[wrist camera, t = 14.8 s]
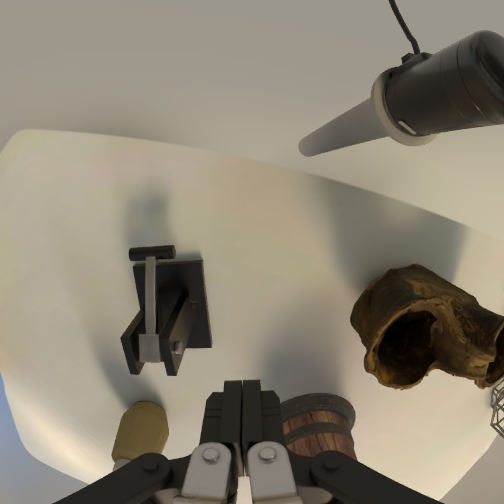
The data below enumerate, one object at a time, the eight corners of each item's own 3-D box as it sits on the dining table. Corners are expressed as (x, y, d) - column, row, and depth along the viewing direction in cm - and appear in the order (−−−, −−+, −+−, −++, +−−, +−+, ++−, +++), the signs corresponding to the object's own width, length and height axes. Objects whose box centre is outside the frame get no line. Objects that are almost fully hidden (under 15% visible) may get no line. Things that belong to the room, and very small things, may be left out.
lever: (134, 251, 33) (127, 244, 31) (176, 248, 33) (171, 241, 31) (135, 360, 30) (126, 361, 27) (179, 361, 30) (173, 362, 27)
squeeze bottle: (157, 434, 46) (135, 513, 28) (119, 410, 44) (85, 486, 27) (182, 414, 44) (163, 501, 27) (141, 387, 43) (106, 472, 25)
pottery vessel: (311, 314, 40) (356, 415, 21) (336, 237, 38) (415, 295, 19) (444, 337, 42) (513, 405, 23) (469, 277, 40) (554, 328, 21)
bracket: (135, 263, 38) (93, 301, 26) (202, 260, 38) (183, 299, 26) (150, 344, 41) (123, 400, 29) (212, 343, 41) (202, 404, 29)
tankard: (292, 381, 43) (315, 488, 24) (373, 405, 45) (416, 491, 26) (228, 462, 48) (225, 549, 28) (302, 478, 50) (316, 555, 31)
